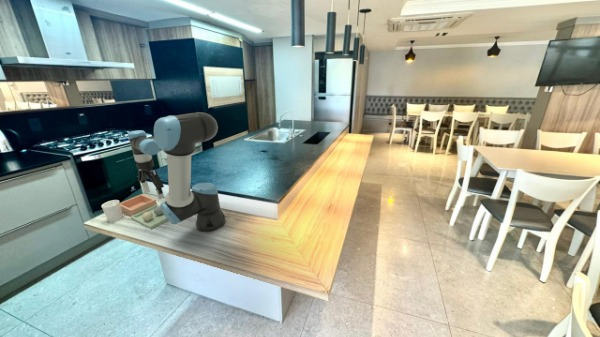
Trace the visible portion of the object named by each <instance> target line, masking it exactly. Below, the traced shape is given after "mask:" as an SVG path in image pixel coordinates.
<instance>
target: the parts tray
mask: <svg viewBox="0 0 600 337" xmlns="http://www.w3.org/2000/svg"><path fill="white" fill-rule="evenodd" d="M158 206H159V205H158V204H157V205H155V206H152V207H150V208H148V209H146V210H144V211H142V212H140V213H137V214H135V215H133V216H130V219H131V220H132V221H134V222H137V223H138V224H140V225H142V226H144V227H146V228H148V229H150V230H152V229H155V228H157V227H158V226H160V225H162V224H164V223H166V222H169V221H168V220H167V219H166V217H165V216H164V214H163V213H162V214H161V215H156V214H155V213H154V209H155V208H156V207H158ZM145 212H151V213H152V214H153V217H152V219H151V220H149V221H145V220H143V219H142V215H143V214H144V213H145Z"/></svg>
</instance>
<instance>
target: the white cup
mask: <svg viewBox="0 0 600 337" xmlns="http://www.w3.org/2000/svg"><path fill="white" fill-rule="evenodd" d="M120 203H121V202H120V200H118V199H113V200H108V201H106V202H104V203H102V204H101V208H102V210H103V213H104V215H105V216H106V218H107V221H108V222H117V221H119V220H122V218H123V217H124V215H123V214H124V213H122V209H121V206H120Z"/></svg>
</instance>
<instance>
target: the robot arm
mask: <svg viewBox="0 0 600 337" xmlns="http://www.w3.org/2000/svg"><path fill="white" fill-rule="evenodd" d="M218 129H219V126H218V122H217V120H216V119H215V118H214V117H213V116H212V115H211V114H209V113H206V112H203V111H202V112H199V111H196V112H191V113H184V114H183V113H182V114H178V115H167V116H164V117H160V118H158V119H157V120H156V121H155V122H154V126H153V136H150V137H147V134H146V131H144V130H139V129H138V130H131V131H129V132H128V134H127V138H128V141H129V144H130V148H131V150H132V154H133V158H134V162H135V164H136V167H137V180H138V182H140V183H141V186H142V190H143V192H144V195H146V194H149V193H151V191H150V186H149V183H148V180H147V178H148V179H149V180H150V181H151V183H152V184H153V186H154V187H155V191H156V195H157V199H158V200H159V201H160V200H163V199H164V198H165V201H162V202H160V203H159V204H160V205H159V206H160V207H161V210H162V212H163V214H164V216H165V217H166V219H167V220H168V221H167V222H169V223H170V224H172V225H177V224H179V223H182V222H184V221H186V220H188V219H190V218H191V217H193V216H195V215H196V221H195V226H196V229H197V230H198V231H200V232H205V233H206V232H213V231H216V230H219V229H220V228H222V227H223V226H224V225H225V224H226V221H227V220H226V219H227V218H226V215H225V214H224V212H223V211H222V209H221V204H220V198H219V192H218V187H217V186H216V184H214V183H211V182H199V183H195V184H194V185H191V182H192V179H191V178H192V175H191V174H192V155H193V154H194V153H195V151H196V145H197V144H199V143H204V142H207V141H209V140H211V139H213V138H214V137H215V136H216V135H217V133H218V131H219V130H218ZM159 152H163V153H164V154H166V158H167V159H166V160H167V162H166V163H167V180H168V193H167V194H166V195H165V194H164V191H163V188H164V187H165V185H164V184H163V181H162V180H161V177H160V175H158V171H157V170H156V169H153V167H154V166H155V164H154V159H153V156H155V155H157V154H159Z"/></svg>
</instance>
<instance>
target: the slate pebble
mask: <svg viewBox="0 0 600 337" xmlns="http://www.w3.org/2000/svg"><path fill="white" fill-rule="evenodd" d="M154 213H155V214H156V215H161V214H162V213H163V212H162V210H161V207H160V205H158V207H156V208H155V209H154Z"/></svg>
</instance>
